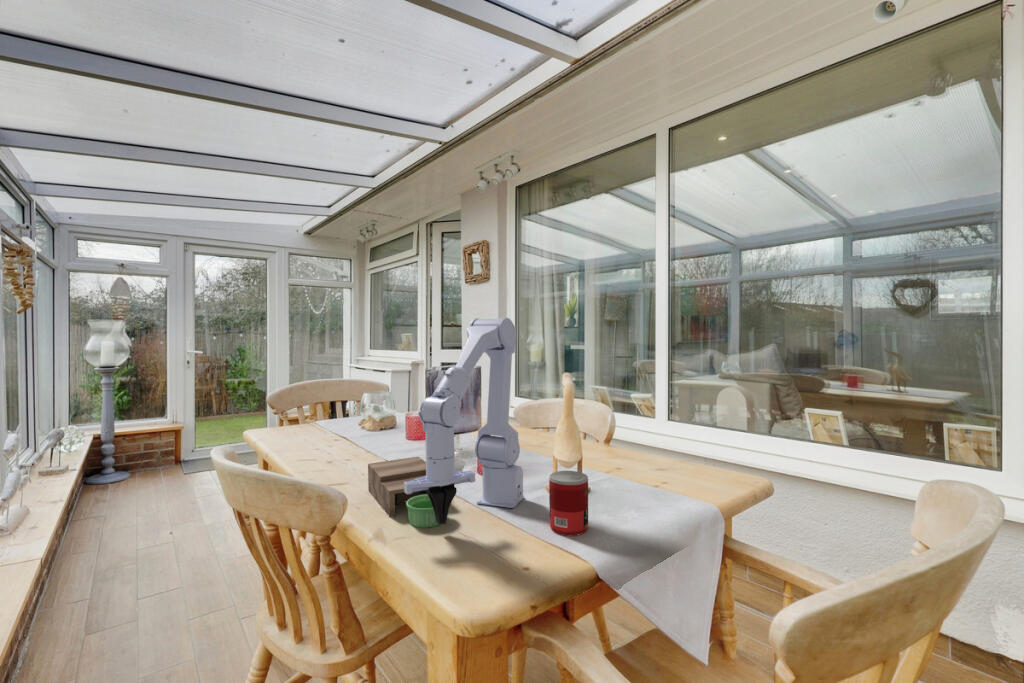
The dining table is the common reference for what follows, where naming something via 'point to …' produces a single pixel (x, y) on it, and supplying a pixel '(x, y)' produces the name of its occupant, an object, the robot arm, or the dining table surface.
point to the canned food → (568, 502)
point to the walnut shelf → (394, 481)
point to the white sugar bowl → (458, 462)
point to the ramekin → (421, 512)
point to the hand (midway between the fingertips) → (441, 522)
